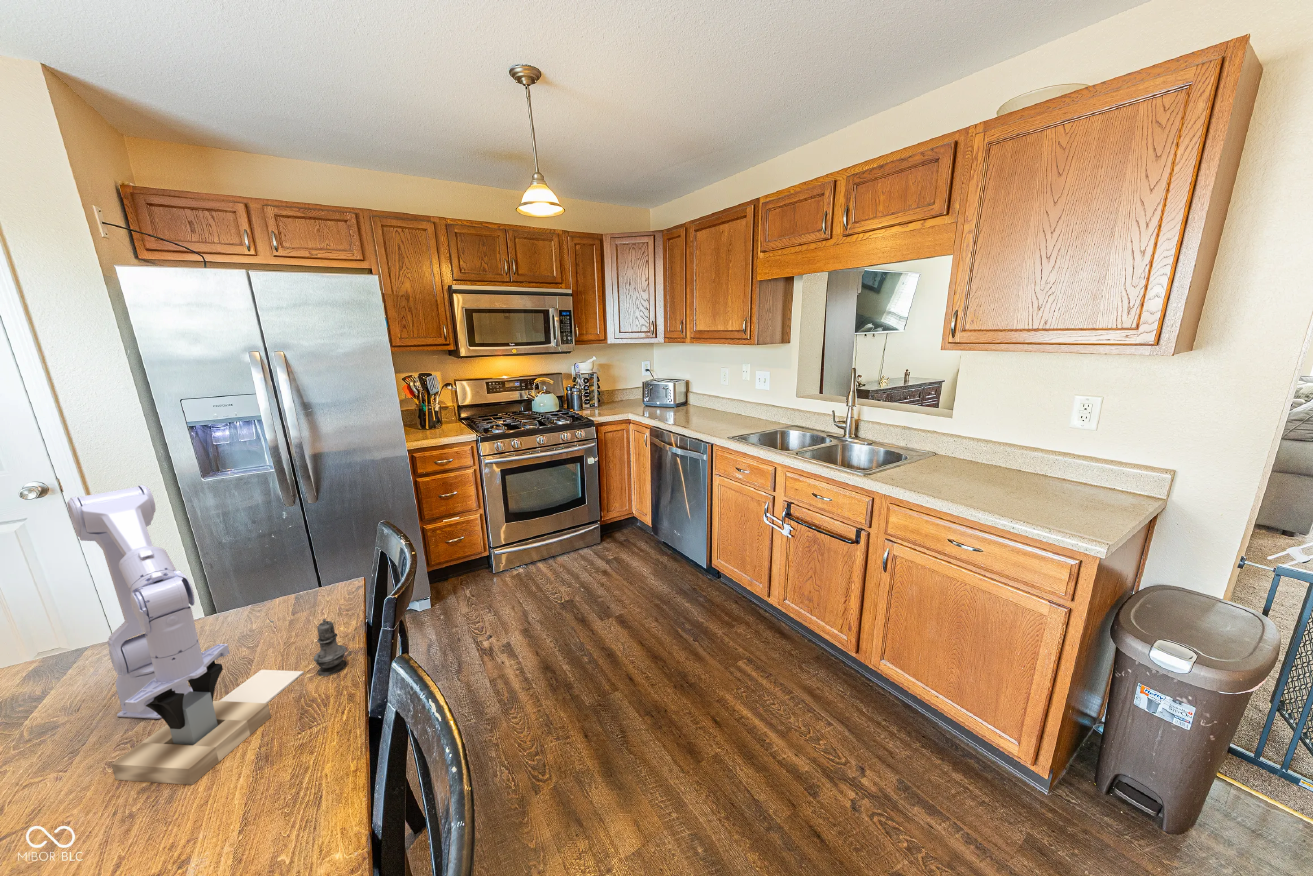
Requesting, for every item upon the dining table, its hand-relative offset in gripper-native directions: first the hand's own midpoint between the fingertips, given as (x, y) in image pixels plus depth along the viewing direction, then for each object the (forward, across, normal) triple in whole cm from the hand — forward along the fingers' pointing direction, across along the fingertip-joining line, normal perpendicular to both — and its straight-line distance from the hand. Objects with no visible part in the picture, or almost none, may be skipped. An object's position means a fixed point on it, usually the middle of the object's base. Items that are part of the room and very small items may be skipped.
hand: (191, 716), depth 81 cm
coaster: (+6, +14, +2) cm, 15 cm away
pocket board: (+6, 0, 0) cm, 6 cm away
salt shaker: (+6, +21, -8) cm, 23 cm away
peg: (+4, 0, 0) cm, 4 cm away
